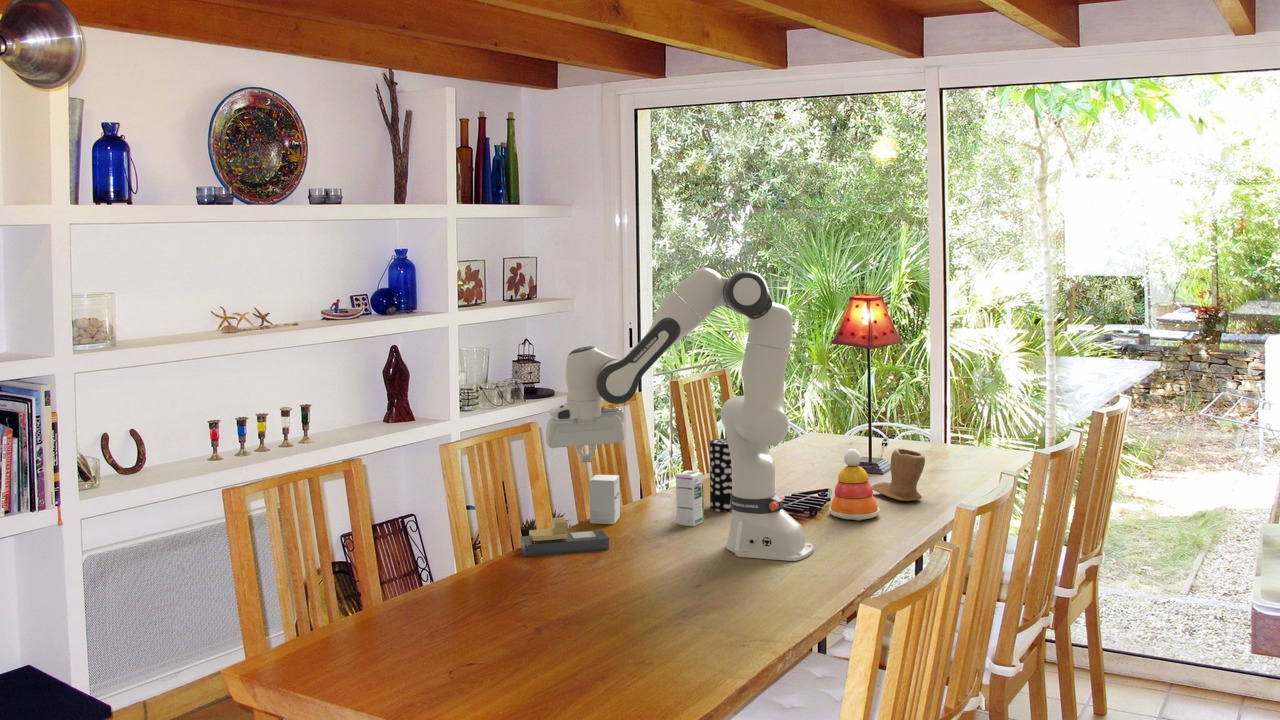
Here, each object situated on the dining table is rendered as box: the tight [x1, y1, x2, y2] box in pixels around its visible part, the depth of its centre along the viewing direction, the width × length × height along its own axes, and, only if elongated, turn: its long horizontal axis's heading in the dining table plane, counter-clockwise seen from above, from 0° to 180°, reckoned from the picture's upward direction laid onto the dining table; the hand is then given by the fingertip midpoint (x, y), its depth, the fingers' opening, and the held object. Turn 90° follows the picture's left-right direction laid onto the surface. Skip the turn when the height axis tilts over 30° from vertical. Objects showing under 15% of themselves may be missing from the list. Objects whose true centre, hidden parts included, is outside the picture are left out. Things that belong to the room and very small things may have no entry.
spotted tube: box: [709, 438, 732, 513], centre depth 325 cm, size 8×8×20 cm
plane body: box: [520, 529, 610, 557], centre depth 288 cm, size 22×8×3 cm, turn 104°
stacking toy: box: [828, 448, 880, 521], centre depth 314 cm, size 14×14×20 cm
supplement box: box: [589, 474, 621, 525], centre depth 314 cm, size 7×7×13 cm
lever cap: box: [528, 516, 568, 541], centre depth 286 cm, size 9×6×4 cm, turn 104°
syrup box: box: [675, 470, 705, 527], centre depth 310 cm, size 6×6×14 cm
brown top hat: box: [871, 447, 926, 502], centre depth 334 cm, size 15×12×15 cm
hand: (586, 462), depth 287 cm, fingers closed
